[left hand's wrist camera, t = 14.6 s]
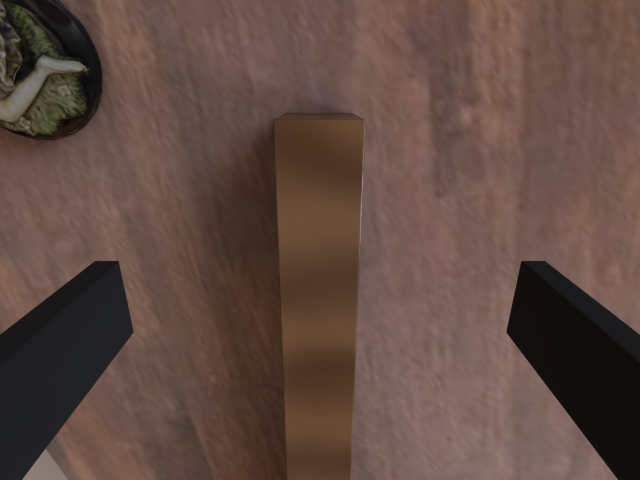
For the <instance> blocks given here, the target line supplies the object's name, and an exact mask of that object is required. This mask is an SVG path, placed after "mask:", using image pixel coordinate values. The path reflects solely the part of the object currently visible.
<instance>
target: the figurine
mask: <svg viewBox="0 0 640 480" xmlns="http://www.w3.org/2000/svg"><path fill="white" fill-rule="evenodd" d="M101 94H102V71H101V66H100V60H99V58H98V55H97V52H96V49H95V46H94V45H93V43H92V41H91V39H90V37H89V35H88V33H87V32H86V30H85V28H84V26H83V25H82V24H81V23H80V21H79V20H78V19H77V18H76V17H75V16H74V15H73V14H72V13H71V12H70V11H69V10H68V9H67V8H66V7H65V6H64V5H63V4H62V3H61V2H60V1H59V0H0V127H2V128H4V129H7V130H9V131H11V132H13V133H15V134H18V135H22V136H25V137H28V138H32V139H37V140H53V139H58V138H61V137H64V136H67V135H70V134H73V133H75V132H76V131H78V130H80V129H81V128H82V127H83V126H85V125H86V124H87V123H88V121H89V120H90V119H91V118H92V117H93V115H94V113H95V112H96V110H97V109H98V105H99V101H100V97H101Z"/></svg>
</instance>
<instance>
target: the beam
mask: <svg viewBox="0 0 640 480" xmlns="http://www.w3.org/2000/svg"><path fill="white" fill-rule="evenodd" d="M273 125H274V151H275V177H276V203H277V229H278V255H279V281H280V307H281V332H282V358H283V384H284V410H285V436H286V462H287V480H351V458H352V434H353V409H354V385H355V361H356V337H357V313H358V289H359V265H360V241H361V217H362V193H363V168H364V144H365V120H364V119H362V118H360V117H358V116H357V115H355V114H353V113H285V114H283V115H281V116H280V117H278V118H276V119H275V120H274V121H273Z"/></svg>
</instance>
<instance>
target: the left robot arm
mask: <svg viewBox="0 0 640 480" xmlns="http://www.w3.org/2000/svg"><path fill="white" fill-rule="evenodd" d="M132 334H133V327H132V322H131V318H130V313H129V308H128V303H127V299H126V294H125V289H124V285H123V280H122V275H121V270H120V266H119V261H95V262H93V263H92V264H91V265H89V266H88V267H87V268H86V269H84V270H83V271H82V272H80V273H79V274H78V275H77V276H75V277H74V278H73V279H71V280H70V281H69V282H68V283H66V284H65V285H64V286H62V287H61V288H60V289H59V290H57V291H56V292H55V293H53V294H52V295H51V296H50V297H48V298H47V299H46V300H44V301H43V302H42V303H40V304H39V305H38V306H37V307H35V308H34V309H33V310H31V311H30V312H29V313H28V314H26V315H25V316H24V317H22V318H21V319H20V320H19V321H17V322H16V323H15V324H13V325H12V326H11V327H10V328H8V329H7V330H6V331H4V332H3V333H2V334H1V335H0V480H22V479H23V478H24V476H25V475H26V474H27V472H28V471H29V470H30V468H31V467H32V466H33V464H34V463H35V462H36V460H37V459H38V458H39V456H40V455H41V454H42V452H43V451H44V450H45V449H46V447H47V446H48V445H49V443H50V442H51V441H52V439H53V438H54V437H55V435H56V434H57V433H58V431H59V430H60V429H61V427H62V426H63V425H64V423H65V422H66V421H67V420H68V418H69V417H70V416H71V414H72V413H73V412H74V410H75V409H76V408H77V406H78V405H79V404H80V402H81V401H82V400H83V398H84V397H85V396H86V394H87V393H88V392H89V391H90V389H91V388H92V387H93V385H94V384H95V383H96V381H97V380H98V379H99V377H100V376H101V375H102V373H103V372H104V371H105V369H106V368H107V367H108V365H109V364H110V363H111V361H112V360H113V359H114V358H115V356H116V355H117V354H118V352H119V351H120V350H121V348H122V347H123V346H124V344H125V343H126V342H127V340H128V339H129V338H130V336H131V335H132ZM507 334H508V335H509V336H510V338H511V339H512V340H513V342H514V343H515V344H516V346H517V347H518V348H519V350H520V351H521V352H522V354H523V355H524V356H525V358H526V359H527V360H528V361H529V363H530V364H531V365H532V367H533V368H534V369H535V371H536V372H537V373H538V375H539V376H540V377H541V379H542V380H543V381H544V383H545V384H546V385H547V387H548V388H549V389H550V391H551V392H552V393H553V394H554V396H555V397H556V398H557V400H558V401H559V402H560V404H561V405H562V406H563V408H564V409H565V410H566V412H567V413H568V414H569V416H570V417H571V418H572V420H573V421H574V422H575V423H576V425H577V426H578V427H579V429H580V430H581V431H582V433H583V434H584V435H585V437H586V438H587V439H588V441H589V442H590V443H591V445H592V446H593V447H594V449H595V450H596V451H597V452H598V454H599V455H600V456H601V458H602V459H603V460H604V462H605V463H606V464H607V466H608V467H609V468H610V470H611V471H612V472H613V474H614V475H615V476H616V478H617V479H618V480H640V335H639V334H638V333H637V332H636V331H634V330H633V329H632V328H630V327H629V326H628V325H627V324H625V323H624V322H623V321H621V320H620V319H619V318H618V317H616V316H615V315H614V314H612V313H611V312H610V311H609V310H607V309H606V308H605V307H603V306H602V305H601V304H600V303H598V302H597V301H596V300H594V299H593V298H592V297H590V296H589V295H588V294H587V293H585V292H584V291H583V290H581V289H580V288H579V287H578V286H576V285H575V284H574V283H572V282H571V281H570V280H569V279H567V278H566V277H565V276H563V275H562V274H561V273H560V272H558V271H557V270H556V269H554V268H553V267H552V266H551V265H549V264H548V263H547V262H545V261H521V266H520V270H519V275H518V280H517V285H516V289H515V294H514V299H513V303H512V308H511V313H510V318H509V322H508V327H507Z"/></svg>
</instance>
